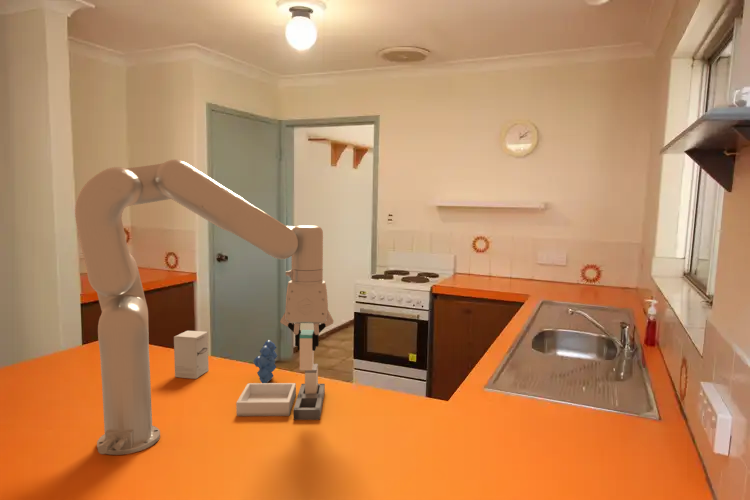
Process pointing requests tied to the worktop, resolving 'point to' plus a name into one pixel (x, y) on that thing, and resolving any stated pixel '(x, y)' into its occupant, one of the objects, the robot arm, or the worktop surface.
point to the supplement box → (191, 354)
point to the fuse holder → (309, 404)
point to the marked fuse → (306, 350)
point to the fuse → (311, 380)
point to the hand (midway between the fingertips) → (306, 348)
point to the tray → (266, 399)
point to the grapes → (266, 361)
